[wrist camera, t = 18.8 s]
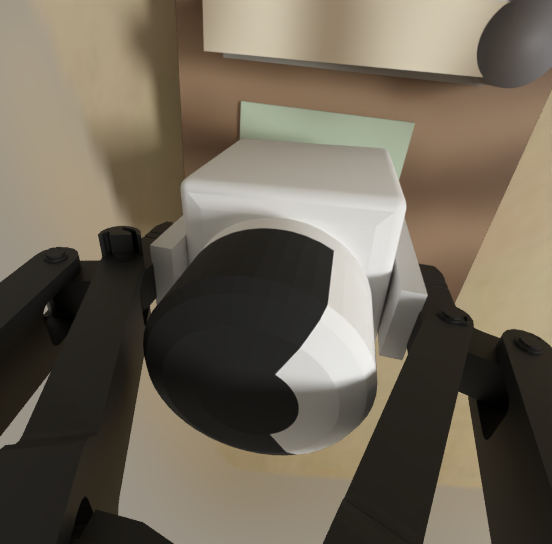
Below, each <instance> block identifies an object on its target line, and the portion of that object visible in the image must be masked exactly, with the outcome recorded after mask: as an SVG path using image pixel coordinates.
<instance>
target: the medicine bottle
mask: <svg viewBox="0 0 552 544" xmlns="http://www.w3.org/2000/svg"><path fill="white" fill-rule="evenodd" d="M180 191H181V199H182V208H183V216H184V225H185V233H186V242H187V250H188V259H189V266H188V267H187V269H186V270H185V271H184V272H183V274H182V275H181V276H180V277H179V279H178V280H177V281H176V282H175V284H174V285H173V286H172V287H171V289H170V290H169V291H168V292H167V294H166V295H165V296H164V297H163V299H162V300H161V301H160V302H159V304H158V305H157V306H156V307H155V309H154V310H153V311H152V313H151V315H150V317H149V319H148V321H147V323H146V327H145V330H144V337H143V350H144V357H145V360H146V365H147V369H148V372H149V376H150V378H151V381H152V383H153V385H154V387H155V389H156V390H157V392H158V394H159V395H160V396H161V398H162V399H163V400H164V402H165V403H166V404H167V405H168V407H169V408H170V409H172V411H173V412H174V413H176V415H178V416H179V417H180V418H181V419H183V420H184V421H185V422H186V423H187V424H189V425H190V426H192V427H193V428H195V429H196V430H198V431H199V432H201V433H203V434H205V435H206V436H208V437H210V438H212V439H214V440H217V441H219V442H221V443H224V444H226V445H229V446H232V447H235V448H238V449H242V450H245V451H250V452H255V453H260V454H268V455H298V454H305V453H310V452H314V451H318V450H321V449H324V448H326V447H329V446H331V445H333V444H335V443H337V442H338V441H340V440H342V439H343V438H344V437H346V436H347V435H348V434H349V433H350V432H352V431H353V430H354V429H355V428H356V427H358V426H359V425H360V424H361V422H362V421H363V420H364V419H365V418H366V417H367V415H368V413H369V412H370V410H371V408H372V406H373V403H374V400H375V397H376V391H377V369H376V354H375V341H376V336H377V332H378V328H379V324H380V319H381V315H382V311H383V306H384V302H385V298H386V294H387V289H388V285H389V281H390V277H391V272H392V268H393V264H394V259H395V255H396V251H397V247H398V242H399V238H400V234H401V230H402V225H403V221H404V217H405V212H406V201H405V198H404V195H403V192H402V189H401V186H400V183H399V180H398V177H397V174H396V171H395V169H394V166H393V163H392V160H391V157H390V154H389V152H388V151H387V150H386V149H383V148H372V147H357V146H343V145H328V144H314V143H300V142H285V141H271V140H256V139H240V140H239V141H237V142H236V143H235V144H233V145H232V146H230V147H229V148H227V149H226V150H225V151H223V152H222V153H220V154H219V155H218V156H216V157H215V158H213V159H212V160H211V161H209V162H208V163H206V164H205V165H204V166H202V167H201V168H199V169H198V170H196V171H195V172H194V173H192V174H191V175H189V176H188V177H187V178H185V179H184V180H183V182H182V183H181V188H180Z"/></svg>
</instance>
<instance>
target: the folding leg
mask: <svg viewBox="0 0 552 544" xmlns="http://www.w3.org/2000/svg"><path fill="white" fill-rule="evenodd" d="M203 36H204V51H210V52H220V53H231V54H241V55H252V56H262V57H273V58H283V59H294V60H305V61H315V62H326V63H336V64H347V65H357V66H368V67H379V68H389V69H400V70H410V71H421V72H431V73H442V74H452V75H463V76H469V77H470V78H471V79H472V80H474V81H476V82H478V83H482V84H486V85H491V86H495V87H500V88H517V87H521V86H524V85H527V84H529V83H531V82H533V81H535V80H536V79H538V78H539V77H541V76H542V75H543V74H545V73H546V72H547V71H548V70H549V69H550V68H551V67H552V0H508V1H495V0H203Z"/></svg>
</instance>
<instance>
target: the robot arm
mask: <svg viewBox="0 0 552 544" xmlns="http://www.w3.org/2000/svg"><path fill="white" fill-rule="evenodd" d="M98 237H99V242H100V247H101V252H102V259H101V260H100V261H80V260H79V256H78V252H77V251H76V250H75V249H72V248H68V247H56V248H50V249H48V250H45V251H42V252H40V253H38V254H37V255H35V256H34V257H33V258H32V259H30V260H29V261H28V262H26V263H25V264H24V265H22V266H21V267H20V268H18V269H17V270H16V271H14V272H13V273H12V274H11V275H9V276H8V277H7V278H5V279H4V280H3V281H2V282H0V436H1V435H2V434H3V432H4V431H5V430H6V428H7V427H8V426H9V424H10V423H11V422H12V421H13V419H14V418H15V417H16V416H17V414H18V413H19V412H20V410H21V409H22V408H23V407H24V405H25V404H26V403H27V401H28V400H29V399H30V398H31V396H32V395H33V394H34V392H35V391H36V390H37V389H38V387H39V386H40V385H41V383H42V382H43V381H44V380H45V378H46V377H47V376H48V374H49V373H50V372H51V373H50V375H49V377H48V380H47V382H46V384H45V386H44V389H43V391H42V393H41V395H40V397H39V400H38V402H37V404H36V406H35V408H34V411H33V413H32V415H31V417H30V420H29V422H28V424H27V426H26V429H25V431H24V433H23V436H22V437H21V439H20V441H18V442H17V443H16V444H13V445H5V446H4V447H3V448H1V449H0V544H173V543H172V542H171V541H169V540H168V539H166V538H165V537H163V536H162V535H160V534H159V533H157V532H156V531H155V530H153V529H152V528H150V527H149V526H148V525H146V524H145V523H143V522H140V521H136V520H133V519H129V518H126V517H122V516H118V504H119V496H120V490H121V485H122V479H123V473H124V467H125V461H126V456H127V450H128V445H129V439H130V433H131V427H132V422H133V415H134V410H135V404H136V398H137V393H138V387H139V381H140V376H141V370H142V364H143V359H144V350H143V337H144V330H145V327H146V323H147V321H148V319H149V317H150V315H151V311H150V305H151V303H152V302H153V301H154V300H155V299H156V303H157V305H158V304H159V302H160V301H161V300H162V299H163V297H164V296H165V295H166V294H167V292H168V291H169V290H170V289H171V287H172V286H173V285H174V284H175V282H176V281H177V280H178V279H179V277H180V276H181V275H182V274H183V272H184V271H185V270H186V269H187V267H188V266H189V259H188V250H187V242H186V233H185V225H184V216H183V215H182V216H181V217H180V218H179V219H178V220H177V221H176V222H175V223H172V222H165V223H162V224H160V225H157V226H156V227H155V228H153V229H152V230H151V231H150V232H149V233H148V234H146V235H145V237H143V238H142V239H141V233H140V231H139V230H138V229H137V228H134V227H129V226H116V227H111V228H107V229H105V230H103V231H101V232H100V233H99V234H98ZM46 304H47V307H48V311H47V312H46V313H45V314H43V312H44V308H45V306H46ZM473 326H474V324H473V320H472V318H471V317H470V316H469V315H468V314H467V313H466V312H464V311H463V310H461V309H459V308H457V307H456V306H455V304H454V301H453V299H452V296H451V294H450V291H449V290H448V286H447V283H446V281H445V278H444V276H443V274H442V273H441V272H440V271H439V270H438V269H437V268H436V267H435V266H431V265H425V264H419V263H418V261H417V257H416V254H415V251H414V247H413V244H412V241H411V237H410V234H409V231H408V227H407V224H406V221H405V217H404V221H403V225H402V230H401V234H400V238H399V242H398V247H397V251H396V255H395V259H394V264H393V268H392V272H391V277H390V281H389V285H388V289H387V294H386V298H385V302H384V306H383V311H382V315H381V319H380V324H379V328H378V342H379V355H380V356H385V357H390V358H395V359H400V360H402V359H403V356H404V354H405V351H406V349H407V351H408V356H407V358H406V360H405V363H404V365H403V367H402V369H401V372H400V374H399V376H398V378H397V381H396V383H395V385H394V387H393V390H392V392H391V394H390V396H389V399H388V401H387V403H386V405H385V408H384V410H383V412H382V414H381V417H380V419H379V421H378V423H377V426H376V428H375V430H374V432H373V435H372V437H371V439H370V441H369V444H368V446H367V448H366V450H365V453H364V455H363V457H362V459H361V462H360V464H359V466H358V468H357V471H356V473H355V475H354V477H353V480H352V482H351V484H350V486H349V489H348V491H347V493H346V495H345V498H344V499H343V500H342V502H341V505H340V507H339V509H338V511H337V513H336V516H335V518H334V520H333V522H332V524H331V526H330V529H329V531H328V533H327V535H326V538H325V540H324V542H323V544H423V541H424V536H425V532H426V528H427V523H428V519H429V515H430V510H431V506H432V502H433V497H434V493H435V489H436V485H437V480H438V476H439V472H440V468H441V463H442V459H443V455H444V450H445V446H446V442H447V438H448V433H449V429H450V425H451V420H452V416H453V412H454V408H455V403H456V399H457V395H458V391H459V392H461V393H463V394H465V395H468V400H469V406H470V412H471V418H472V425H473V431H474V437H475V443H476V450H477V456H478V462H479V468H480V475H481V481H482V487H483V493H484V499H485V506H486V512H487V518H488V524H489V531H490V537H491V543H492V544H552V348H551V346H550V345H549V344H547V343H546V342H545V341H544V340H542V339H541V338H540V337H538V336H536V335H534V334H532V333H528V332H525V331H523V330H516V329H511V330H507V331H505V332H504V333H503V334H502V336H501V338H498V337H495V336H492V335H490V334H487V333H484V332H482V331H480V330H477V329H475V328H474V327H473Z"/></svg>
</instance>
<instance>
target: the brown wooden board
mask: <svg viewBox="0 0 552 544" xmlns="http://www.w3.org/2000/svg"><path fill="white" fill-rule="evenodd" d="M495 1H508V0H495ZM175 4H176V23H177V43H178V63H179V82H180V102H181V122H182V141H183V161H184V179H185V178H187V177H188V176H189V175H191V174H192V173H194V172H195V171H196V170H198V169H199V168H201V167H202V166H204V165H205V164H206V163H208V162H209V161H211V160H212V159H213V158H215V157H216V156H218V155H219V154H220V153H222V152H223V151H225V150H226V149H227V148H229V147H230V146H232V145H233V144H235V143H236V142H237V141H239V140H240V139H256V140H271V141H285V142H300V143H314V144H328V145H343V146H357V147H372V148H383V149H386V150H387V151H388V152H389V154H390V157H391V160H392V163H393V166H394V169H395V171H396V174H397V177H398V180H399V183H400V186H401V189H402V192H403V195H404V198H405V201H406V212H405V221H406V224H407V227H408V231H409V234H410V237H411V241H412V244H413V247H414V251H415V254H416V257H417V261H418V263H419V264H425V265H431V266H435V267H436V268H437V269H438V270H439V271H440V272H441V273H442V274H443V276H444V278H445V281H446V283H447V286H448V290H449V291H450V294H451V296H452V299H453V301H454V304H455V302H456V300H457V297H458V295H459V293H460V291H461V289H462V286H463V284H464V282H465V280H466V278H467V275H468V273H469V271H470V269H471V266H472V264H473V262H474V260H475V258H476V255H477V253H478V251H479V249H480V247H481V244H482V242H483V240H484V238H485V236H486V233H487V231H488V229H489V227H490V225H491V222H492V220H493V218H494V216H495V214H496V211H497V209H498V207H499V205H500V203H501V200H502V198H503V196H504V194H505V191H506V189H507V187H508V185H509V183H510V180H511V178H512V176H513V174H514V172H515V169H516V167H517V165H518V163H519V161H520V158H521V156H522V154H523V152H524V150H525V147H526V145H527V143H528V141H529V139H530V136H531V134H532V132H533V130H534V127H535V125H536V123H537V121H538V119H539V116H540V114H541V112H542V110H543V108H544V105H545V103H546V101H547V99H548V97H549V94H550V92H551V90H552V67H551V68H550V69H549V70H548V71H547V72H546V73H545V74H543V75H542V76H541V77H539V78H538V79H536V80H535V81H533V82H531V83H529V84H527V85H524V86H521V87H517V88H500V87H495V86H491V85H486V84H482V83H478V82H476V81H474V80H472V79H471V78H470V77H469V76H463V75H452V74H442V73H431V72H421V71H410V70H400V69H389V68H379V67H368V66H357V65H347V64H336V63H326V62H315V61H305V60H294V59H283V58H273V57H262V56H252V55H241V54H231V53H220V52H210V51H204V36H203V0H175Z"/></svg>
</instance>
